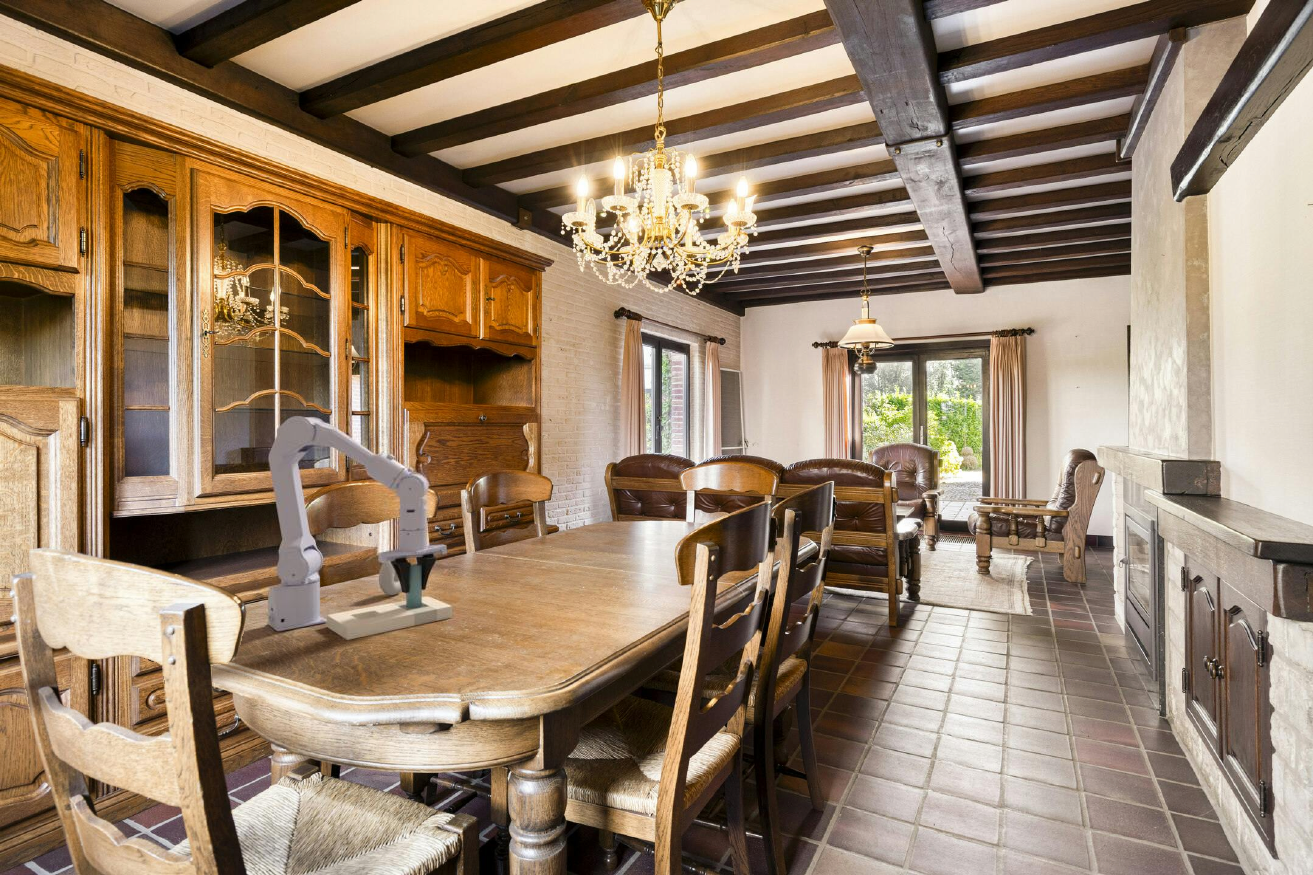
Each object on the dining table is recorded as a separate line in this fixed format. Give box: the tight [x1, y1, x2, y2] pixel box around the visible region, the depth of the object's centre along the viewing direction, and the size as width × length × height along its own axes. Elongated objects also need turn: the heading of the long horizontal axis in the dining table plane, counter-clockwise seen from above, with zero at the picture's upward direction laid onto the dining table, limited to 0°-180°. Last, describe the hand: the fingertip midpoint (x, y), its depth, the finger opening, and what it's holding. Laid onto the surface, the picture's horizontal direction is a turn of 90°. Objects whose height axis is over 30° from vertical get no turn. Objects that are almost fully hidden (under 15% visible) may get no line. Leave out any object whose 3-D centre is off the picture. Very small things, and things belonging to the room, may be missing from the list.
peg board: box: [326, 596, 453, 641], centre depth 140 cm, size 22×12×2 cm, turn 134°
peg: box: [405, 563, 423, 608], centre depth 143 cm, size 3×3×9 cm
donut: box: [378, 561, 402, 596], centre depth 164 cm, size 10×4×10 cm, turn 170°
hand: (413, 590), depth 143 cm, fingers closed on peg, 3 cm apart
